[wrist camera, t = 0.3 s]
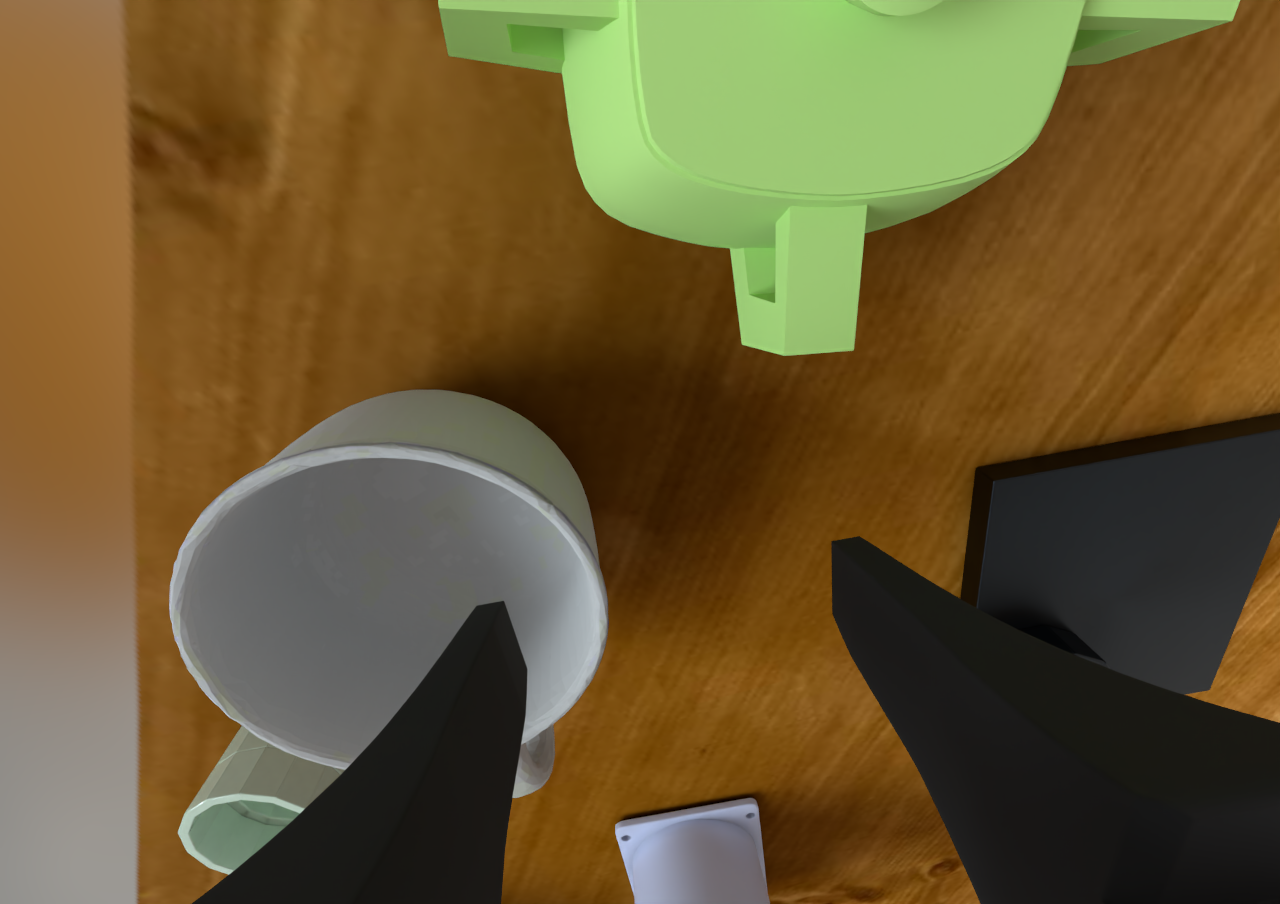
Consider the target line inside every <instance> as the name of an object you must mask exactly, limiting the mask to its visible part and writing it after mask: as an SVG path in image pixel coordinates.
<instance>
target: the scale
mask: <svg viewBox="0 0 1280 904" xmlns="http://www.w3.org/2000/svg"><path fill="white" fill-rule="evenodd" d="M1279 518H1280V413H1279V414H1273V415H1268V416H1262V417H1256V418H1251V419H1245V420H1240V421H1234V422H1229V423H1223V424H1218V425H1212V426H1206V427H1201V428H1195V429H1190V430H1184V431H1179V432H1173V433H1168V434H1162V435H1156V436H1151V437H1145V438H1140V439H1134V440H1129V441H1123V442H1118V443H1112V444H1106V445H1101V446H1095V447H1090V448H1084V449H1079V450H1073V451H1067V452H1062V453H1056V454H1051V455H1045V456H1040V457H1034V458H1029V459H1023V460H1017V461H1012V462H1006V463H1001V464H995V465H990V466H984V467H979V468H976V471H975V479H974V488H973V496H972V504H971V513H970V521H969V530H968V538H967V547H966V555H965V564H964V572H963V581H962V589H961V598H960V599H961V600H963V601H965V602H966V603H968V604H970V605H972V606H974V607H976V608H978V609H979V610H981V611H983V612H985V613H987V614H989V615H990V616H992V617H994V618H996V619H998V620H1000V621H1002V622H1004V623H1006V624H1008V625H1010V626H1012V627H1014V628H1016V629H1018V630H1020V631H1022V632H1025V633H1027V634H1029V635H1031V636H1033V637H1035V638H1038V639H1040V640H1042V641H1044V642H1046V643H1048V644H1051V645H1053V646H1055V647H1057V648H1060V649H1062V650H1064V651H1067V652H1069V653H1071V654H1074V655H1076V656H1079V657H1081V658H1084V659H1086V660H1089V661H1091V662H1094V663H1096V664H1099V665H1102V666H1104V667H1107V668H1109V669H1112V670H1114V671H1117V672H1119V673H1122V674H1125V675H1127V676H1130V677H1133V678H1136V679H1139V680H1142V681H1144V682H1147V683H1150V684H1153V685H1156V686H1159V687H1162V688H1165V689H1168V690H1171V691H1174V692H1177V693H1180V694H1183V695H1185V694H1190V693H1196V692H1202V691H1207V690H1210V688H1211V685H1212V683H1213V680H1214V678H1215V675H1216V673H1217V671H1218V668H1219V666H1220V663H1221V661H1222V658H1223V656H1224V653H1225V651H1226V648H1227V646H1228V644H1229V641H1230V639H1231V636H1232V634H1233V631H1234V629H1235V626H1236V624H1237V621H1238V619H1239V616H1240V614H1241V612H1242V609H1243V607H1244V604H1245V602H1246V599H1247V597H1248V594H1249V592H1250V589H1251V587H1252V585H1253V582H1254V580H1255V577H1256V575H1257V572H1258V570H1259V567H1260V565H1261V562H1262V560H1263V557H1264V555H1265V553H1266V550H1267V548H1268V545H1269V543H1270V540H1271V538H1272V535H1273V533H1274V530H1275V528H1276V525H1277V523H1278V521H1279Z"/></svg>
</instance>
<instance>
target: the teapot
mask: <svg viewBox="0 0 1280 904" xmlns="http://www.w3.org/2000/svg"><path fill="white" fill-rule="evenodd" d="M1239 2H1240V0H438V3H439V11H440V16H441V21H442V26H443V31H444V36H445V41H446V46H447V51H448V56H453V57H460V58H466V59H472V60H479V61H485V62H492V63H498V64H504V65H511V66H517V67H523V68H530V69H536V70H543V71H549V72H555V73H562V76H563V84H564V91H565V98H566V105H567V113H568V120H569V126H570V132H571V137H572V142H573V148H574V153H575V158H576V164H577V168H578V170H579V173H580V176H581V178H582V181H583V184H584V186H585V189H586V190H587V191H588V193H589V194H590V196H591V197H592V199H593V200H594V202H595V203H596V204H597V205H598V206H599V207H600V208H601V209H603V210H604V211H605V212H606V213H607V214H608V215H610V216H611V217H613V218H615V219H617V220H619V221H621V222H622V223H624V224H626V225H628V226H630V227H634V228H637V229H640V230H643V231H646V232H649V233H652V234H656V235H659V236H663V237H667V238H671V239H675V240H679V241H683V242H689V243H694V244H699V245H704V246H711V247H721V248H730V253H731V261H732V269H733V277H734V285H735V293H736V301H737V309H738V317H739V325H740V333H741V342H742V345H745V346H749V347H753V348H757V349H760V350H764V351H768V352H772V353H775V354H779V355H783V356H789V355H802V354H815V353H828V352H841V351H854V343H855V332H856V321H857V310H858V300H859V289H860V278H861V267H862V256H863V245H864V235H865V233H868V232H872V231H876V230H879V229H883V228H887V227H890V226H893V225H896V224H899V223H902V222H904V221H907V220H910V219H913V218H916V217H918V216H921V215H924V214H927V213H930V212H932V211H934V210H936V209H938V208H940V207H941V206H943V205H945V204H947V203H949V202H951V201H953V200H955V199H957V198H959V197H961V196H962V195H964V194H966V193H968V192H969V191H971V190H973V189H974V188H976V187H978V186H979V185H981V184H982V183H984V182H986V181H987V180H989V179H990V178H992V177H994V176H995V175H996V174H998V173H999V172H1000V171H1002V170H1003V169H1004V168H1005V167H1007V166H1008V165H1009V164H1010V163H1012V162H1013V161H1014V160H1016V159H1017V158H1018V157H1019V156H1021V155H1022V154H1023V153H1025V151H1026V150H1027V149H1028V148H1029V147H1030V146H1031V145H1032V144H1033V142H1034V141H1035V140H1036V139H1037V137H1038V136H1039V134H1040V132H1041V130H1042V128H1043V126H1044V125H1045V123H1046V121H1047V119H1048V117H1049V114H1050V112H1051V109H1052V106H1053V104H1054V101H1055V99H1056V96H1057V94H1058V91H1059V88H1060V86H1061V83H1062V80H1063V77H1064V74H1065V70H1066V67H1067V66H1077V65H1091V64H1101V63H1104V62H1107V61H1110V60H1113V59H1116V58H1119V57H1122V56H1125V55H1128V54H1132V53H1135V52H1138V51H1141V50H1144V49H1147V48H1150V47H1153V46H1156V45H1159V44H1162V43H1165V42H1168V41H1172V40H1175V39H1178V38H1181V37H1184V36H1187V35H1190V34H1193V33H1196V32H1199V31H1202V30H1205V29H1209V28H1212V27H1215V26H1218V25H1221V24H1224V23H1227V22H1230V21H1233V18H1234V15H1235V13H1236V10H1237V8H1238V5H1239Z"/></svg>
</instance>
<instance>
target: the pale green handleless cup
mask: <svg viewBox="0 0 1280 904" xmlns="http://www.w3.org/2000/svg"><path fill="white" fill-rule="evenodd" d="M344 771H345V770H343V769H339V768H335V767H331V766H327V765H323V764H320V763H316V762H313V761H309V760H306V759H303V758H300V757H298V756H295V755H292V754H290V753H287V752H284V751H282V750H281V749H279V748H277V747H275V746H273V745H271V744H269V743H268V742H266V741H264V740H262V739H260V738H258V737H256V736H255V735H254V734H252V733H251V732H250V731H248V730H247V729H246V728H245V727H243V726H241V728H240V729H239V731H238V732H237V734H236V736H235V737H234V739H233V740H232V742H231V743H230V745H229V746H228V748H227V749H226V751H225V752H224V754H223V755H222V757H221V758H220V760H219V762H218V763H217V765H216V766H215V768H214V769H213V771H212V772H211V774H210V775H209V777H208V778H207V780H206V781H205V783H204V784H203V786H202V787H201V789H200V790H199V792H198V794H197V795H196V797H195V798H194V800H193V801H192V803H191V804H190V806H189V807H188V809H187V810H186V812H185V813H184V816H183V819H182V822H181V824H180V827H179V830H178V834H179V836H180V838H181V841H182V843H183V845H184V847H185V849H186V851H187V852H188V853H189V854H190V855H192V856H193V857H194V858H196V859H197V860H199V861H200V862H201V863H203V864H204V865H205V866H207V867H209V868H211V869H214V870H217V871H220V872H223V873H226V874H231V873H232V872H233V871H234V870H235V869H237V868H238V867H239V866H240V865H241V864H243V863H244V862H245V861H246V860H247V859H249V858H250V857H251V856H252V855H253V854H255V853H256V852H257V851H258V850H259V849H261V848H262V847H263V846H264V845H265V844H266V843H268V842H269V841H270V840H271V839H272V838H273V837H274V836H276V835H277V834H278V833H279V832H280V831H281V830H282V829H284V828H285V827H286V826H287V825H288V824H289V823H290V822H291V821H293V820H294V819H295V818H296V817H297V816H298V815H299V814H300V813H301V812H302V811H303V810H304V809H305V808H306V807H307V806H308V805H309V804H310V803H312V802H313V801H314V800H315V799H316V798H317V797H318V796H319V795H320V794H321V793H322V792H323V791H324V790H325V789H326V788H327V787H328V786H329V785H330V784H332V783H333V782H334V781H335V780H336V779H337V778H338V777H339V776H340V775H341V774H342V773H343V772H344Z"/></svg>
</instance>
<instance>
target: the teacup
mask: <svg viewBox="0 0 1280 904" xmlns="http://www.w3.org/2000/svg"><path fill="white" fill-rule="evenodd" d="M499 601H504V602H505V605H506V608H507V611H508V614H509V617H510V619H511V622H512V625H513V628H514V631H515V634H516V637H517V640H518V643H519V646H520V649H521V652H522V654H523V657H524V660H525V663H526V666H527V669H528V670H527V700H526V717H525V723H524V730H523V736H522V742H521V749H520V755H519V761H518V767H517V773H516V779H515V785H514V791H513V797H512V798H518V797H521V796H524V795H527V794H530V793H532V792H534V791H536V790H538V789H540V788H541V787H542V786H543V785H544V784H545V783H546V781H547V780H548V779H549V776H550V774H551V772H552V768H553V763H554V756H555V745H554V728H553V724H554V723H555V722H556V721H557V720H559V719H560V718H561V717H562V716H563V715H564V714H566V713H567V712H568V711H569V710H570V708H571V707H572V706H573V705H574V704H575V703H576V702H577V701H578V700H579V698H580V697H581V695H582V694H583V692H584V691H585V689H586V688H587V686H588V685H589V684H590V682H591V681H592V679H593V677H594V675H595V673H596V671H597V669H598V666H599V664H600V661H601V659H602V655H603V652H604V649H605V645H606V640H607V634H608V624H609V619H608V599H607V593H606V587H605V583H604V579H603V576H602V573H601V570H600V567H599V558H598V550H597V544H596V537H595V532H594V527H593V522H592V517H591V512H590V508H589V504H588V501H587V497H586V495H585V492H584V489H583V487H582V484H581V482H580V480H579V478H578V476H577V474H576V472H575V470H574V469H573V467H572V465H571V464H570V462H569V460H568V459H567V458H566V457H565V455H564V454H563V453H562V451H561V450H560V449H559V448H558V446H557V445H556V444H555V443H554V442H553V441H552V440H551V439H550V438H549V437H548V436H547V435H546V434H545V433H544V432H543V431H541V430H540V429H539V428H538V427H537V426H535V425H534V424H533V423H532V422H530V421H529V420H527V419H526V418H524V417H523V416H521V415H520V414H518V413H516V412H514V411H512V410H510V409H509V408H507V407H505V406H502V405H500V404H498V403H495V402H493V401H490V400H487V399H484V398H481V397H478V396H475V395H470V394H465V393H459V392H454V391H446V390H409V391H400V392H394V393H388V394H385V395H381V396H378V397H374V398H371V399H367V400H364V401H362V402H359V403H357V404H354V405H352V406H350V407H348V408H346V409H343V410H341V411H340V412H338V413H336V414H334V415H333V416H331V417H329V418H327V419H326V420H324V421H322V422H321V423H319V424H318V425H316V426H315V427H313V428H312V429H311V430H309V431H308V432H307V433H305V434H304V435H302V436H301V437H300V438H298V439H297V440H295V441H294V442H293V443H291V444H290V445H289V446H288V447H286V448H285V449H284V450H283V451H282V452H280V453H279V454H278V455H277V456H275V457H274V458H273V459H272V460H271V461H269V462H268V463H267V464H266V465H264V466H263V467H261V468H259V469H257V470H255V471H253V472H251V473H249V474H248V475H246V476H244V477H243V478H241V479H240V480H238V481H237V482H235V483H234V484H233V485H231V486H230V487H229V488H227V489H226V490H225V491H223V492H222V493H221V494H220V495H219V496H218V497H217V498H216V499H215V500H214V501H213V502H212V503H211V504H210V505H209V506H208V507H207V508H206V509H205V510H204V511H203V512H202V513H201V515H200V517H199V518H198V520H197V521H196V522H195V524H194V525H193V527H192V528H191V530H190V531H189V533H188V535H187V537H186V539H185V541H184V543H183V544H182V546H181V548H180V550H179V553H178V558H177V560H176V562H175V563H174V571H173V576H172V579H171V583H170V601H169V608H170V619H171V622H172V628H173V633H174V637H175V640H176V643H177V645H178V647H179V650H180V654H181V657H182V659H183V661H184V662H185V664H186V666H187V668H188V671H189V672H190V673H191V674H192V676H193V677H194V678H195V680H196V681H197V683H198V685H199V686H200V688H201V689H202V690H203V691H204V693H205V694H206V695H207V696H208V697H209V698H210V699H211V700H212V701H213V702H214V703H215V704H216V705H217V706H219V707H220V708H221V709H222V710H223V712H224V713H225V714H226V715H227V716H228V717H229V718H231V719H233V720H235V721H237V722H238V723H240V724H241V725H242V726H243V727H245V728H246V729H247V730H248V731H250V732H251V733H252V734H254V735H255V736H256V737H258V738H260V739H262V740H264V741H266V742H268V743H269V744H271V745H273V746H275V747H277V748H279V749H281V750H282V751H284V752H287V753H290V754H292V755H295V756H298V757H300V758H303V759H306V760H309V761H313V762H316V763H320V764H323V765H327V766H331V767H335V768H339V769H343V770H346V769H347V768H348V767H349V765H350V764H351V763H352V762H353V761H354V760H355V759H356V758H357V757H358V756H359V755H360V754H361V753H362V752H363V751H364V750H365V749H366V747H367V746H368V745H369V744H370V743H371V742H372V741H373V740H374V739H375V738H376V736H377V735H378V734H379V733H380V732H381V731H382V730H383V728H384V727H385V726H386V725H387V724H388V723H389V721H390V720H391V719H392V718H393V716H394V715H395V714H396V713H397V712H398V710H399V709H400V708H401V707H402V705H403V704H404V703H405V702H406V700H407V699H408V698H409V697H410V695H411V694H412V693H413V692H414V691H415V689H416V688H417V687H418V685H419V684H420V683H421V681H422V680H423V679H424V677H425V676H426V675H427V673H428V672H429V671H430V669H431V668H432V667H433V665H434V664H435V662H436V661H437V660H438V658H439V657H440V656H441V654H442V653H443V651H444V650H445V649H446V647H447V646H448V644H449V643H450V642H451V640H452V639H453V637H454V636H455V635H456V633H457V632H458V630H459V629H460V628H461V626H462V625H463V623H464V622H465V621H466V619H467V618H468V616H469V615H470V614H471V612H472V611H473V610H474V608H475V607H476V606H477V605H483V604H488V603H494V602H499Z"/></svg>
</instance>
